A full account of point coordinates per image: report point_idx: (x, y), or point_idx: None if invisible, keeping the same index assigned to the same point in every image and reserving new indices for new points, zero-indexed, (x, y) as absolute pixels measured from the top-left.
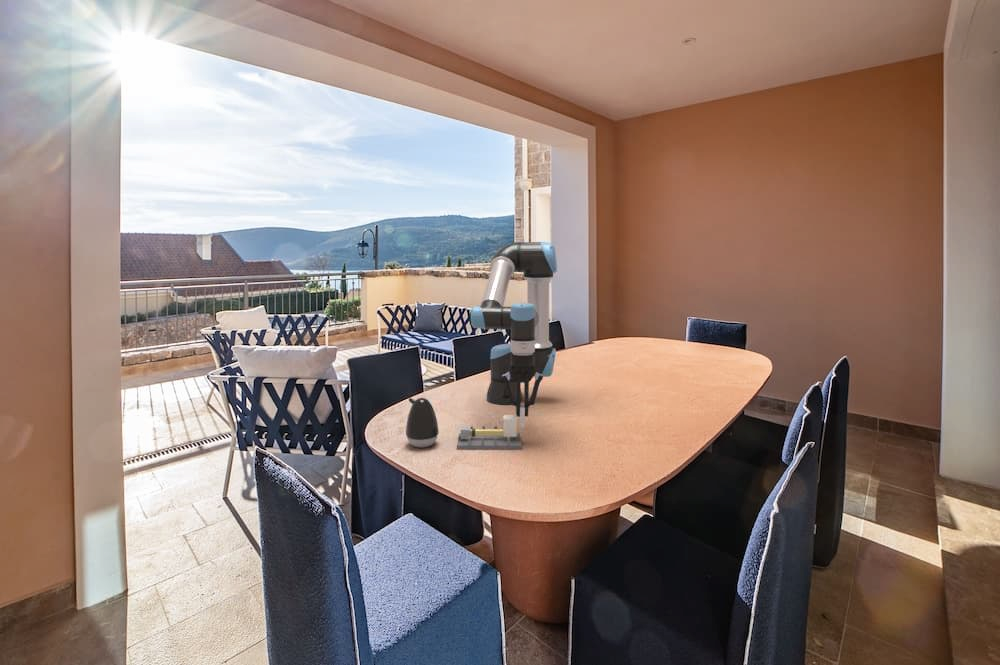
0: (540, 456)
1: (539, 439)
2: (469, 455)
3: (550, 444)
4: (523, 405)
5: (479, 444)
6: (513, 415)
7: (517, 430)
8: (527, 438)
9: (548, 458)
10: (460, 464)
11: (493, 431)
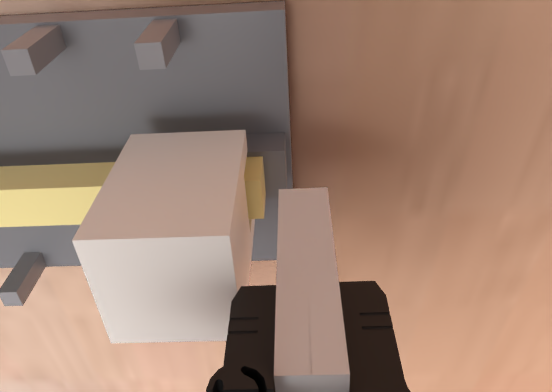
0: (400, 315)
1: (455, 61)
2: (9, 315)
3: (515, 158)
4: (334, 388)
5: (10, 250)
6: (199, 246)
7: (261, 207)
8: (351, 42)
9: (439, 332)
10: (13, 386)
11: (52, 223)
